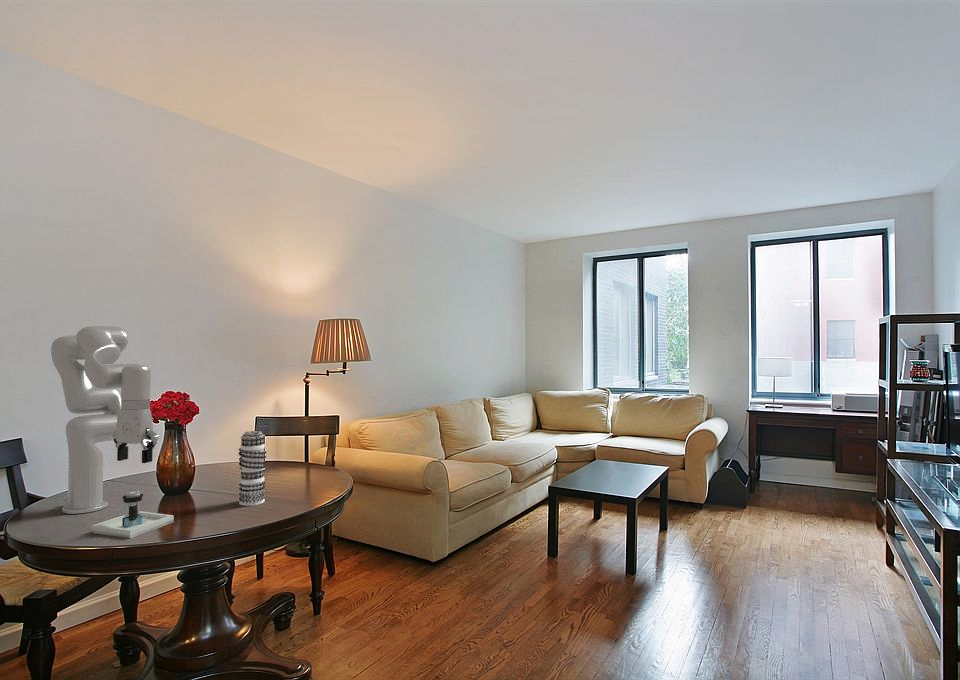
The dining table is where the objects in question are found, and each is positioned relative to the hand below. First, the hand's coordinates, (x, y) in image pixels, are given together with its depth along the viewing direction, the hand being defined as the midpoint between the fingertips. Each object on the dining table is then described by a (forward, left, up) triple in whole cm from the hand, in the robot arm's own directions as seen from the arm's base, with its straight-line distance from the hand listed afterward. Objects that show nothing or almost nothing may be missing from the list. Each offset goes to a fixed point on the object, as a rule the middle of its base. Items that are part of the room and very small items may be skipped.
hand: (134, 461), depth 166 cm
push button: (+1, 0, -20) cm, 20 cm away
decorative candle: (+16, +33, -20) cm, 42 cm away
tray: (0, 0, -20) cm, 20 cm away
